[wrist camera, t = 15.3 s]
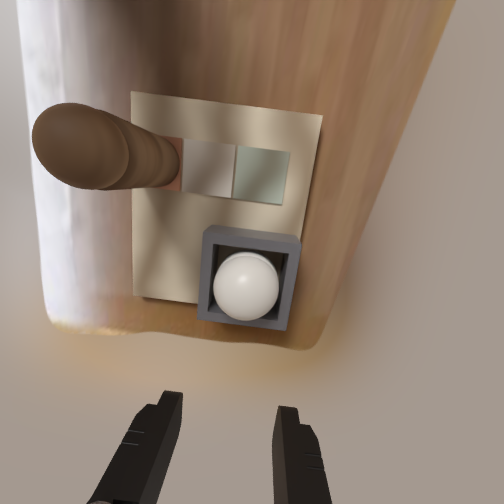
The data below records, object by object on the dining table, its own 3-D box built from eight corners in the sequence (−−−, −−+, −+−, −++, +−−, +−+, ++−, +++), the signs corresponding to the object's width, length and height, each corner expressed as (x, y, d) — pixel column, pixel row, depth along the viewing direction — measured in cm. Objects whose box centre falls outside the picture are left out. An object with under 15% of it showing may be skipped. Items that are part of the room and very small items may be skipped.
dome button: (216, 297, 26) (204, 329, 21) (221, 243, 25) (209, 262, 19) (272, 304, 26) (275, 338, 20) (280, 251, 25) (286, 272, 19)
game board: (139, 289, 30) (132, 296, 28) (138, 96, 24) (129, 90, 23) (285, 308, 30) (286, 316, 28) (319, 119, 24) (323, 114, 23)
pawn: (131, 183, 25) (11, 187, 13) (130, 132, 23) (-5, 80, 11) (178, 189, 25) (104, 198, 13) (180, 138, 23) (99, 94, 11)
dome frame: (205, 300, 28) (196, 319, 24) (211, 224, 26) (202, 231, 22) (282, 310, 28) (285, 331, 24) (295, 235, 26) (302, 244, 22)
